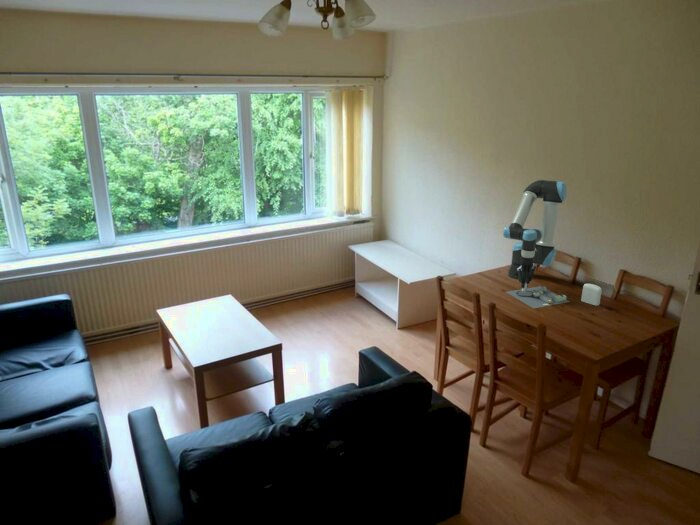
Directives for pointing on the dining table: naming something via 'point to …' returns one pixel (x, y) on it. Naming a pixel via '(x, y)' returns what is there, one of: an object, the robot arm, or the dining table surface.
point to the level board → (537, 301)
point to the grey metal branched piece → (535, 294)
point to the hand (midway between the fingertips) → (523, 292)
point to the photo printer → (591, 294)
